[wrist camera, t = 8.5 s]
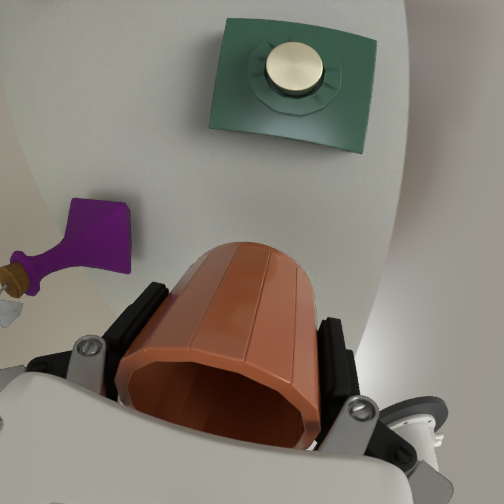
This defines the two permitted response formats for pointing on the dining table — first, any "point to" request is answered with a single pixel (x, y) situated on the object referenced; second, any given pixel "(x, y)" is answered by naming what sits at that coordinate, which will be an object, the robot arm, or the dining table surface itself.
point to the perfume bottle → (72, 251)
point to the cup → (232, 350)
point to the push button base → (294, 106)
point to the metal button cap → (294, 68)
